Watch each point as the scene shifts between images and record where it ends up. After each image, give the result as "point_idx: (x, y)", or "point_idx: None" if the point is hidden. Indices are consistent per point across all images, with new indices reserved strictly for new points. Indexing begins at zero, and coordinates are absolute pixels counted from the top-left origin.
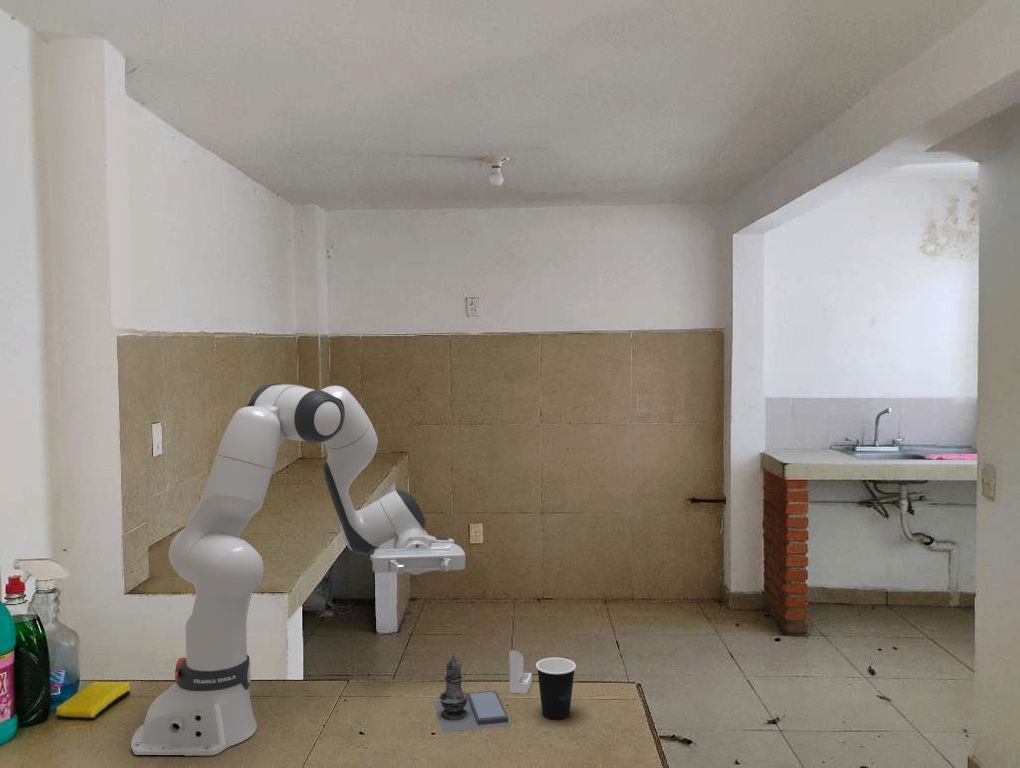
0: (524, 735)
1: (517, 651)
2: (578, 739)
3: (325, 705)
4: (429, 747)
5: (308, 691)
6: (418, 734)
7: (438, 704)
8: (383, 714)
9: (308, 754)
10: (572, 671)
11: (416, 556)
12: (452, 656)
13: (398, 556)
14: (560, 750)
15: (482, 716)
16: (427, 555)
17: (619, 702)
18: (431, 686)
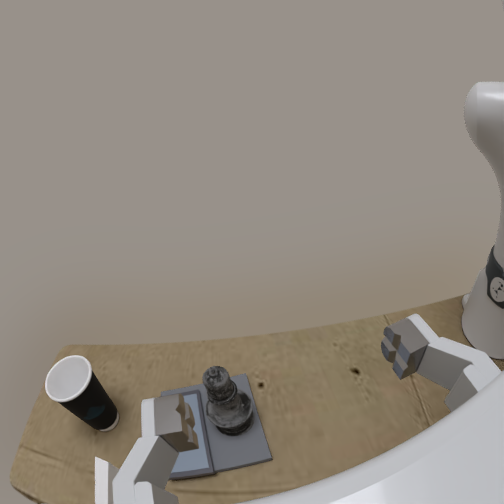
0: (149, 385)
1: (96, 457)
2: (100, 375)
3: None
4: (260, 355)
5: None
6: (280, 380)
7: (262, 447)
8: (347, 422)
9: (388, 321)
10: (57, 367)
11: (369, 462)
12: (213, 368)
13: (479, 396)
14: (123, 357)
15: (191, 398)
16: (279, 495)
17: (34, 442)
18: None
